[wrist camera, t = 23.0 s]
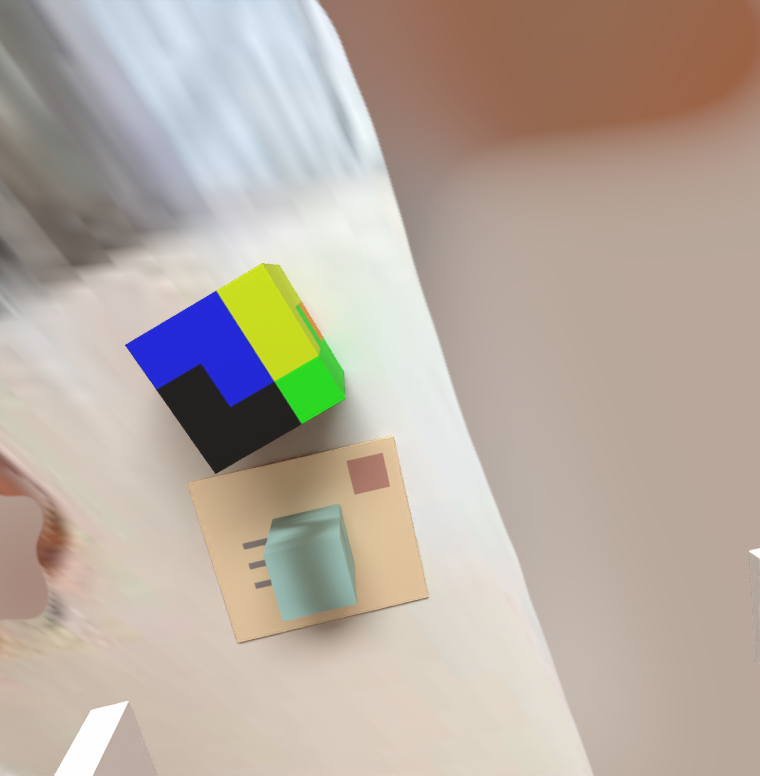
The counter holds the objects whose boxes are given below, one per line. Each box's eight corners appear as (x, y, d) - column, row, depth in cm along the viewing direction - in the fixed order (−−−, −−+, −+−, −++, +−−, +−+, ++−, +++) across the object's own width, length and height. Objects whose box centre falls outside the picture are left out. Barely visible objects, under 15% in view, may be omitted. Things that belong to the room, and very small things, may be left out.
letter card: (238, 640, 49) (237, 642, 49) (188, 482, 46) (187, 484, 45) (427, 595, 50) (428, 597, 50) (392, 435, 46) (393, 436, 46)
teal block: (289, 578, 48) (283, 621, 42) (272, 519, 47) (263, 554, 41) (354, 563, 48) (356, 603, 42) (339, 503, 47) (339, 536, 41)
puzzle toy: (173, 328, 43) (124, 345, 33) (279, 265, 43) (262, 263, 33) (241, 430, 45) (215, 474, 36) (343, 371, 45) (345, 398, 35)
